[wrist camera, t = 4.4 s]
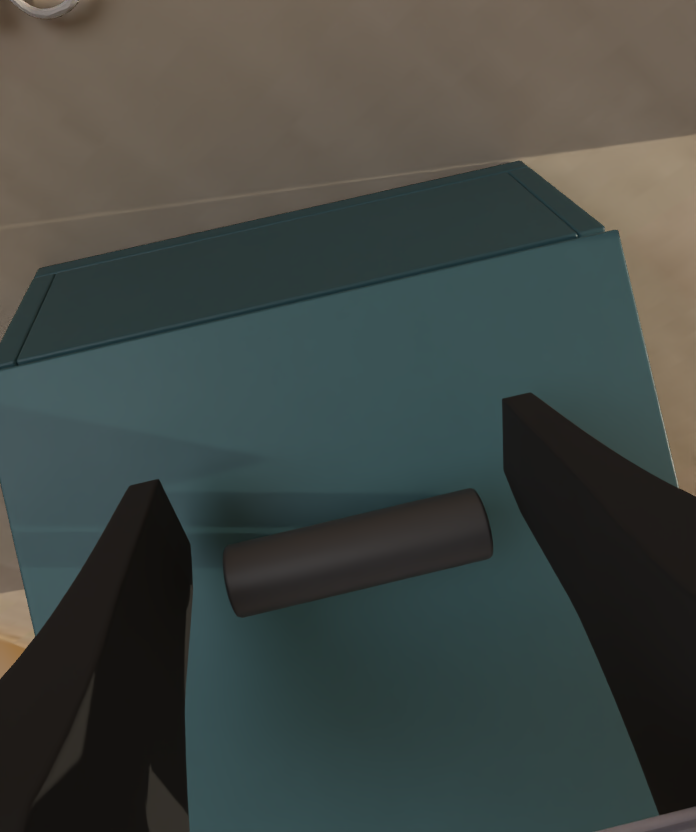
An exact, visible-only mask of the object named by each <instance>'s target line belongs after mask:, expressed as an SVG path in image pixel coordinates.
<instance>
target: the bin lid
mask: <svg viewBox="0 0 696 832" xmlns="http://www.w3.org/2000/svg"><path fill="white" fill-rule="evenodd" d="M529 392H531V393H533V394H534V395H536V396H537V397H538V398H540V399H541V400H542V401H544V402H545V403H547V404H548V405H549V406H551V407H552V408H553V409H555V410H556V411H557V412H559V413H560V414H561V415H563V416H564V417H566V418H567V419H568V420H570V421H571V422H572V423H574V424H575V425H577V426H578V427H579V428H581V429H582V430H584V431H585V432H586V433H588V434H589V435H591V436H592V437H594V438H595V439H597V440H598V441H600V442H601V443H603V444H604V445H606V446H607V447H609V448H610V449H612V450H613V451H615V452H616V453H618V454H619V455H621V456H623V457H624V458H626V459H627V460H629V461H631V462H632V463H634V464H636V465H637V466H639V467H641V468H642V469H644V470H646V471H648V472H649V473H651V474H653V475H654V476H656V477H658V478H660V479H662V480H664V481H666V482H667V483H669V484H671V485H673V486H675V487H677V488H679V485H678V481H677V477H676V472H675V468H674V464H673V460H672V456H671V451H670V447H669V443H668V439H667V434H666V430H665V426H664V422H663V418H662V413H661V409H660V405H659V401H658V396H657V392H656V388H655V384H654V380H653V375H652V371H651V367H650V363H649V359H648V354H647V350H646V346H645V342H644V337H643V333H642V329H641V325H640V321H639V316H638V312H637V308H636V304H635V299H634V295H633V291H632V287H631V283H630V278H629V274H628V270H627V266H626V261H625V257H624V253H623V249H622V245H621V240H620V236H619V232H618V230H611V231H607V232H602V233H598V234H594V235H589V236H585V237H580V238H576V239H572V240H567V241H563V242H559V243H554V244H550V245H545V246H541V247H537V248H532V249H528V250H523V251H519V252H515V253H510V254H506V255H501V256H497V257H493V258H488V259H484V260H479V261H475V262H471V263H466V264H462V265H457V266H453V267H449V268H444V269H440V270H436V271H431V272H427V273H422V274H418V275H414V276H409V277H405V278H400V279H396V280H392V281H387V282H383V283H378V284H374V285H370V286H365V287H361V288H356V289H352V290H348V291H343V292H339V293H335V294H330V295H326V296H321V297H317V298H313V299H308V300H304V301H299V302H295V303H291V304H286V305H282V306H277V307H273V308H269V309H264V310H260V311H255V312H251V313H247V314H242V315H238V316H233V317H229V318H225V319H220V320H216V321H212V322H207V323H203V324H198V325H194V326H190V327H185V328H181V329H176V330H172V331H168V332H163V333H159V334H154V335H150V336H146V337H141V338H137V339H132V340H128V341H124V342H119V343H115V344H110V345H106V346H102V347H97V348H93V349H89V350H84V351H80V352H75V353H71V354H67V355H62V356H58V357H53V358H49V359H45V360H40V361H36V362H31V363H27V364H23V365H18V366H14V367H9V368H5V369H1V370H0V484H1V488H2V492H3V497H4V501H5V506H6V510H7V514H8V519H9V523H10V528H11V532H12V536H13V541H14V545H15V550H16V554H17V558H18V563H19V567H20V571H21V576H22V580H23V585H24V589H25V593H26V598H27V602H28V607H29V611H30V615H31V620H32V624H33V629H34V633H35V637H36V635H37V634H38V633H39V631H40V630H41V629H42V627H43V626H44V624H45V623H46V622H47V620H48V619H49V617H50V616H51V615H52V613H53V612H54V610H55V609H56V607H57V606H58V604H59V603H60V601H61V600H62V598H63V597H64V595H65V594H66V592H67V591H68V589H69V588H70V586H71V585H72V583H73V582H74V580H75V578H76V577H77V575H78V574H79V572H80V570H81V569H82V567H83V565H84V564H85V562H86V560H87V559H88V557H89V555H90V554H91V552H92V550H93V549H94V547H95V545H96V544H97V542H98V540H99V538H100V537H101V535H102V533H103V531H104V530H105V528H106V526H107V524H108V522H109V521H110V519H111V517H112V515H113V513H114V512H115V510H116V508H117V506H118V504H119V503H120V501H121V499H122V497H123V496H124V494H125V492H126V490H127V489H128V487H129V486H130V485H134V484H138V483H143V482H147V481H151V480H156V479H159V480H160V482H161V484H162V486H163V488H164V490H165V492H166V494H167V497H168V499H169V501H170V503H171V505H172V507H173V509H174V511H175V513H176V515H177V517H178V519H179V521H180V523H181V525H182V527H183V529H184V531H185V533H186V536H187V538H188V540H189V542H190V544H191V557H192V574H193V600H192V614H191V628H190V641H189V653H188V666H187V679H186V694H185V737H186V768H187V790H188V811H189V826H190V832H595V831H599V830H603V829H607V828H611V827H615V826H619V825H623V824H627V823H631V822H635V821H639V820H643V819H647V818H651V817H655V816H659V813H658V811H657V808H656V805H655V802H654V800H653V797H652V794H651V792H650V789H649V786H648V784H647V781H646V778H645V776H644V773H643V770H642V768H641V765H640V762H639V760H638V757H637V754H636V752H635V749H634V747H633V744H632V742H631V739H630V737H629V734H628V732H627V729H626V727H625V724H624V722H623V719H622V717H621V714H620V712H619V709H618V707H617V704H616V702H615V699H614V697H613V695H612V692H611V690H610V687H609V685H608V683H607V680H606V678H605V676H604V673H603V671H602V668H601V666H600V664H599V661H598V659H597V657H596V654H595V652H594V650H593V648H592V645H591V643H590V641H589V638H588V636H587V634H586V632H585V629H584V627H583V625H582V623H581V620H580V618H579V616H578V614H577V612H576V610H575V608H574V606H573V604H572V602H571V600H570V599H569V597H568V595H567V593H566V591H565V590H564V588H563V586H562V584H561V583H560V581H559V579H558V577H557V576H556V574H555V572H554V570H553V569H552V567H551V565H550V563H549V562H548V560H547V558H546V556H545V555H544V553H543V551H542V549H541V548H540V546H539V544H538V542H537V541H536V539H535V537H534V535H533V534H532V532H531V530H530V528H529V526H528V525H527V523H526V521H525V519H524V518H523V516H522V514H521V512H520V510H519V508H518V505H517V503H516V500H515V498H514V496H513V493H512V491H511V488H510V486H509V483H508V481H507V478H506V476H505V473H504V471H503V427H502V399H503V398H507V397H512V396H516V395H520V394H525V393H529Z"/></svg>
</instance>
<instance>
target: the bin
mask: <svg viewBox="0 0 696 832" xmlns="http://www.w3.org/2000/svg"><path fill="white" fill-rule="evenodd" d="M602 232H605V227H604V226H603V225H602V224H601V223H599V222H598V221H597V220H595V219H594V218H593V217H592V216H590V215H589V214H588V213H587V212H585V211H584V210H583V209H582V208H580V207H579V206H578V205H576V204H575V203H574V202H573V201H571V200H570V199H569V198H568V197H566V196H565V195H564V194H562V193H561V192H560V191H559V190H557V189H556V188H555V187H554V186H552V185H551V184H550V183H549V182H547V181H546V180H545V179H543V178H542V177H541V176H540V175H538V174H537V173H536V172H535V171H533V170H532V169H531V168H529V167H528V166H527V165H525V164H524V163H523V162H522V161H516V162H512V163H507V164H503V165H498V166H494V167H489V168H485V169H480V170H476V171H471V172H467V173H463V174H458V175H454V176H449V177H445V178H440V179H436V180H431V181H427V182H422V183H418V184H413V185H409V186H405V187H400V188H396V189H391V190H387V191H382V192H378V193H373V194H369V195H364V196H360V197H355V198H351V199H347V200H342V201H338V202H333V203H329V204H324V205H320V206H315V207H311V208H306V209H302V210H298V211H293V212H289V213H284V214H280V215H275V216H271V217H266V218H262V219H257V220H253V221H248V222H244V223H240V224H235V225H231V226H226V227H222V228H217V229H213V230H208V231H204V232H199V233H195V234H191V235H186V236H182V237H177V238H173V239H168V240H164V241H159V242H155V243H150V244H146V245H141V246H137V247H133V248H128V249H124V250H119V251H115V252H110V253H106V254H101V255H97V256H92V257H88V258H83V259H79V260H75V261H70V262H66V263H61V264H57V265H52V266H48V267H43V268H40V269H38V271H37V273H36V275H35V277H34V279H33V280H32V282H31V284H30V286H29V288H28V290H27V292H26V294H25V296H24V298H23V300H22V302H21V304H20V305H19V307H18V309H17V311H16V313H15V315H14V317H13V319H12V321H11V323H10V325H9V327H8V329H7V331H6V333H5V335H4V336H3V338H2V340H1V342H0V370H1V369H5V368H9V367H14V366H18V365H23V364H27V363H31V362H36V361H40V360H45V359H49V358H53V357H58V356H62V355H67V354H71V353H75V352H80V351H84V350H89V349H93V348H97V347H102V346H106V345H110V344H115V343H119V342H124V341H128V340H132V339H137V338H141V337H146V336H150V335H154V334H159V333H163V332H168V331H172V330H176V329H181V328H185V327H190V326H194V325H198V324H203V323H207V322H212V321H216V320H220V319H225V318H229V317H233V316H238V315H242V314H247V313H251V312H255V311H260V310H264V309H269V308H273V307H277V306H282V305H286V304H291V303H295V302H299V301H304V300H308V299H313V298H317V297H321V296H326V295H330V294H335V293H339V292H343V291H348V290H352V289H356V288H361V287H365V286H370V285H374V284H378V283H383V282H387V281H392V280H396V279H400V278H405V277H409V276H414V275H418V274H422V273H427V272H431V271H436V270H440V269H444V268H449V267H453V266H457V265H462V264H466V263H471V262H475V261H479V260H484V259H488V258H493V257H497V256H501V255H506V254H510V253H515V252H519V251H523V250H528V249H532V248H537V247H541V246H545V245H550V244H554V243H559V242H563V241H567V240H572V239H576V238H580V237H585V236H589V235H594V234H598V233H602Z"/></svg>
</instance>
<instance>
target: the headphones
mask: <svg viewBox="0 0 696 832" xmlns="http://www.w3.org/2000/svg"><path fill="white" fill-rule="evenodd" d="M10 1H11V2H12V3H14V4H15V5H16V6H17V7H18V8H19V9H20V10H22V11H23V12H25V13H27V14H28V15H30V16H33V17H36V18H40V19H52V18H56V17H60V16H62V15H64V14H66V13H68V12H69V11H71V10H72V9H73V8H74V7H75V6H76V4H77V3H78V2H79V0H65V1H64V2H62V3H61V4H60V5H57V6H54V7H52V8H46V9H40V8H36V7H33V6H31V5H29V4H28V3H26V2H24V1H23V0H10Z"/></svg>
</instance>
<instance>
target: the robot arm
mask: <svg viewBox="0 0 696 832" xmlns="http://www.w3.org/2000/svg"><path fill="white" fill-rule="evenodd" d="M502 427H503V471H504V473H505V476H506V478H507V481H508V483H509V486H510V488H511V491H512V493H513V496H514V498H515V500H516V503H517V505H518V508H519V510H520V512H521V514H522V516H523V518H524V519H525V521H526V523H527V525H528V526H529V528H530V530H531V532H532V534H533V535H534V537H535V539H536V541H537V542H538V544H539V546H540V548H541V549H542V551H543V553H544V555H545V556H546V558H547V560H548V562H549V563H550V565H551V567H552V569H553V570H554V572H555V574H556V576H557V577H558V579H559V581H560V583H561V584H562V586H563V588H564V590H565V591H566V593H567V595H568V597H569V599H570V600H571V602H572V604H573V606H574V608H575V610H576V612H577V614H578V616H579V618H580V620H581V623H582V625H583V627H584V629H585V632H586V634H587V636H588V638H589V641H590V643H591V645H592V648H593V650H594V652H595V654H596V657H597V659H598V661H599V664H600V666H601V668H602V671H603V673H604V676H605V678H606V680H607V683H608V685H609V687H610V690H611V692H612V695H613V697H614V699H615V702H616V704H617V707H618V709H619V712H620V714H621V717H622V719H623V722H624V724H625V727H626V729H627V732H628V734H629V737H630V739H631V742H632V744H633V747H634V749H635V752H636V754H637V757H638V760H639V762H640V765H641V768H642V770H643V773H644V776H645V778H646V781H647V784H648V786H649V789H650V792H651V794H652V797H653V800H654V802H655V805H656V808H657V811H658V813H659V816H655V817H651V818H647V819H643V820H639V821H635V822H631V823H627V824H623V825H619V826H615V827H611V828H607V829H603V830H599V831H595V832H696V497H695V496H693V495H691V494H689V493H687V492H685V491H683V490H681V489H679V488H677V487H675V486H673V485H671V484H669V483H667V482H666V481H664V480H662V479H660V478H658V477H656V476H654V475H653V474H651V473H649V472H648V471H646V470H644V469H642V468H641V467H639V466H637V465H636V464H634V463H632V462H631V461H629V460H627V459H626V458H624V457H623V456H621V455H619V454H618V453H616V452H615V451H613V450H612V449H610V448H609V447H607V446H606V445H604V444H603V443H601V442H600V441H598V440H597V439H595V438H594V437H592V436H591V435H589V434H588V433H586V432H585V431H584V430H582V429H581V428H579V427H578V426H577V425H575V424H574V423H572V422H571V421H570V420H568V419H567V418H566V417H564V416H563V415H561V414H560V413H559V412H557V411H556V410H555V409H553V408H552V407H551V406H549V405H548V404H547V403H545V402H544V401H542V400H541V399H540V398H538V397H537V396H536V395H534V394H533V393H531V392H529V393H525V394H520V395H516V396H512V397H507V398H503V399H502ZM192 600H193V574H192V557H191V544H190V542H189V540H188V538H187V536H186V533H185V531H184V529H183V527H182V525H181V523H180V521H179V519H178V517H177V515H176V513H175V511H174V509H173V507H172V505H171V503H170V501H169V499H168V497H167V494H166V492H165V490H164V488H163V486H162V484H161V482H160V480H159V479H156V480H151V481H147V482H143V483H138V484H134V485H130V486H129V487H128V489H127V490H126V492H125V494H124V496H123V497H122V499H121V501H120V503H119V504H118V506H117V508H116V510H115V512H114V513H113V515H112V517H111V519H110V521H109V522H108V524H107V526H106V528H105V530H104V531H103V533H102V535H101V537H100V538H99V540H98V542H97V544H96V545H95V547H94V549H93V550H92V552H91V554H90V555H89V557H88V559H87V560H86V562H85V564H84V565H83V567H82V569H81V570H80V572H79V574H78V575H77V577H76V578H75V580H74V582H73V583H72V585H71V586H70V588H69V589H68V591H67V592H66V594H65V595H64V597H63V598H62V600H61V601H60V603H59V604H58V606H57V607H56V609H55V610H54V612H53V613H52V615H51V616H50V617H49V619H48V620H47V622H46V623H45V624H44V626H43V627H42V629H41V630H40V631H39V633H38V634H37V635H36V637H35V638H34V639H33V640H32V642H31V643H30V644H29V645H28V647H27V648H26V649H25V651H24V652H23V653H22V654H21V656H20V657H19V658H18V659H17V660H16V662H15V663H14V664H13V665H12V666H11V668H10V669H9V670H8V671H7V672H6V673H5V674H4V675H3V677H2V678H1V679H0V832H190V826H189V811H188V790H187V768H186V737H185V694H186V679H187V666H188V653H189V641H190V628H191V614H192Z"/></svg>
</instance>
